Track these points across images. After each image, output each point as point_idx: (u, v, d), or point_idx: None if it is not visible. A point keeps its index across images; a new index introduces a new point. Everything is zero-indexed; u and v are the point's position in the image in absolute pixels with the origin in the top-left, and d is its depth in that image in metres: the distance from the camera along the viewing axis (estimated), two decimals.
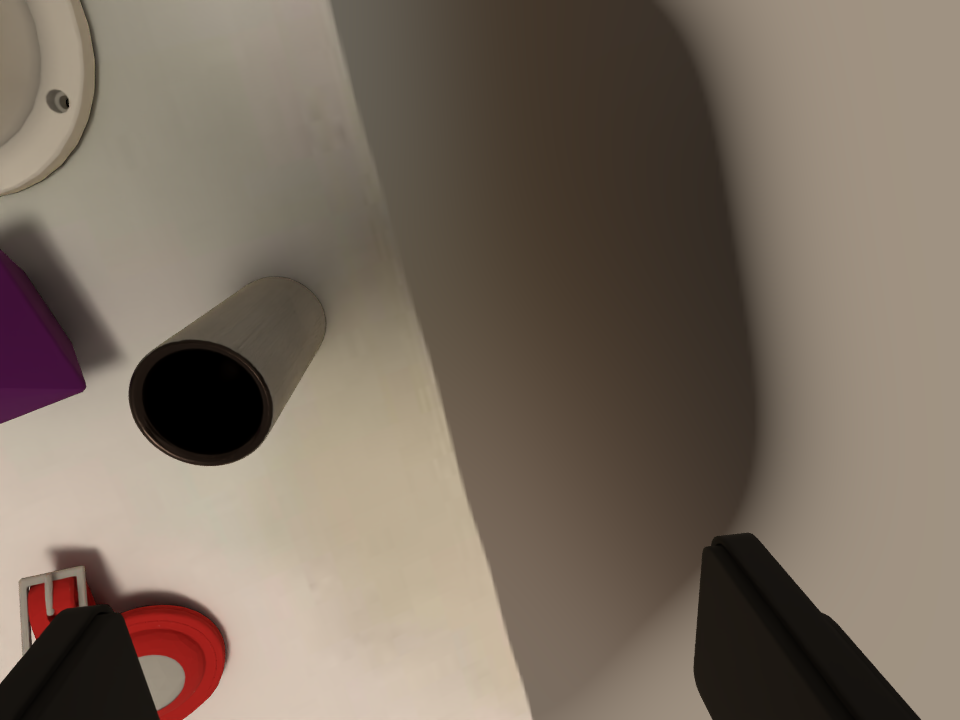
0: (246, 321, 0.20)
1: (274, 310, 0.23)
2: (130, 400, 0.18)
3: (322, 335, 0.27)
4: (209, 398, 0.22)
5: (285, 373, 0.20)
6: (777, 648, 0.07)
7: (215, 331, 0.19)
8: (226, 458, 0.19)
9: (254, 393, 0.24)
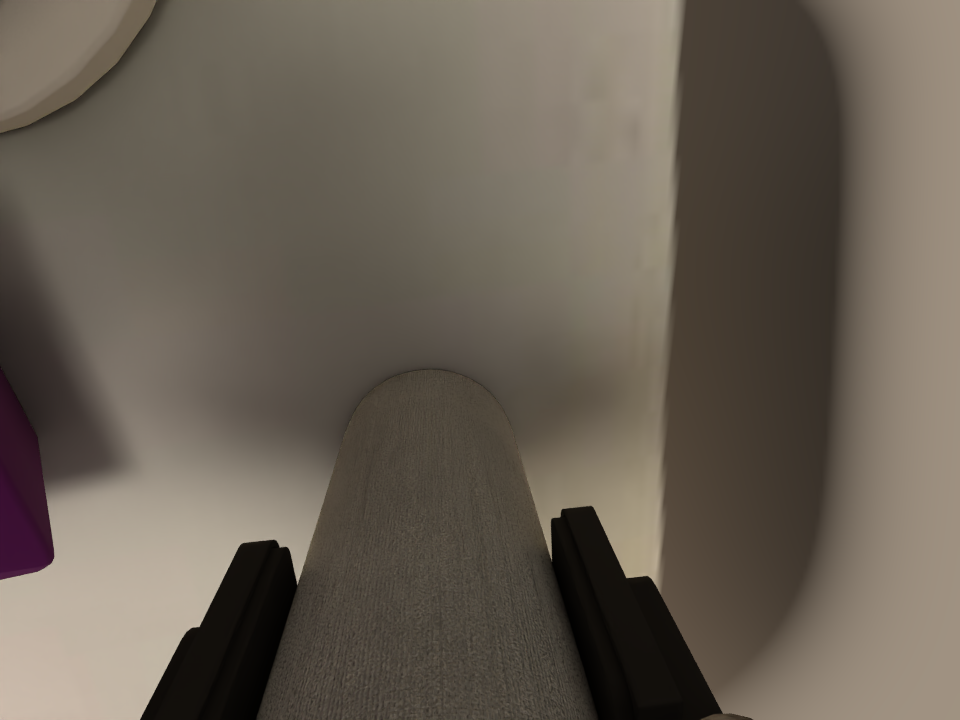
0: (514, 577, 0.08)
1: (514, 497, 0.10)
2: None
3: None
4: None
5: None
6: (579, 601, 0.08)
7: (496, 671, 0.06)
8: None
9: None
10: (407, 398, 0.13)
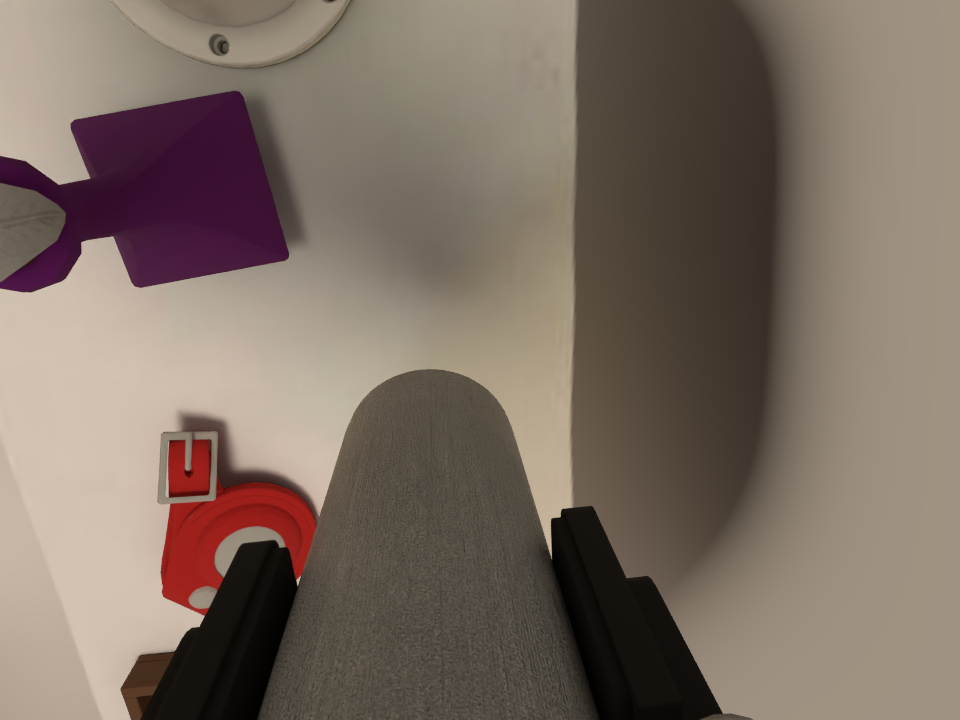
0: (514, 576, 0.08)
1: (515, 497, 0.10)
2: None
3: None
4: None
5: None
6: (580, 601, 0.08)
7: (497, 670, 0.06)
8: None
9: None
10: (408, 398, 0.13)
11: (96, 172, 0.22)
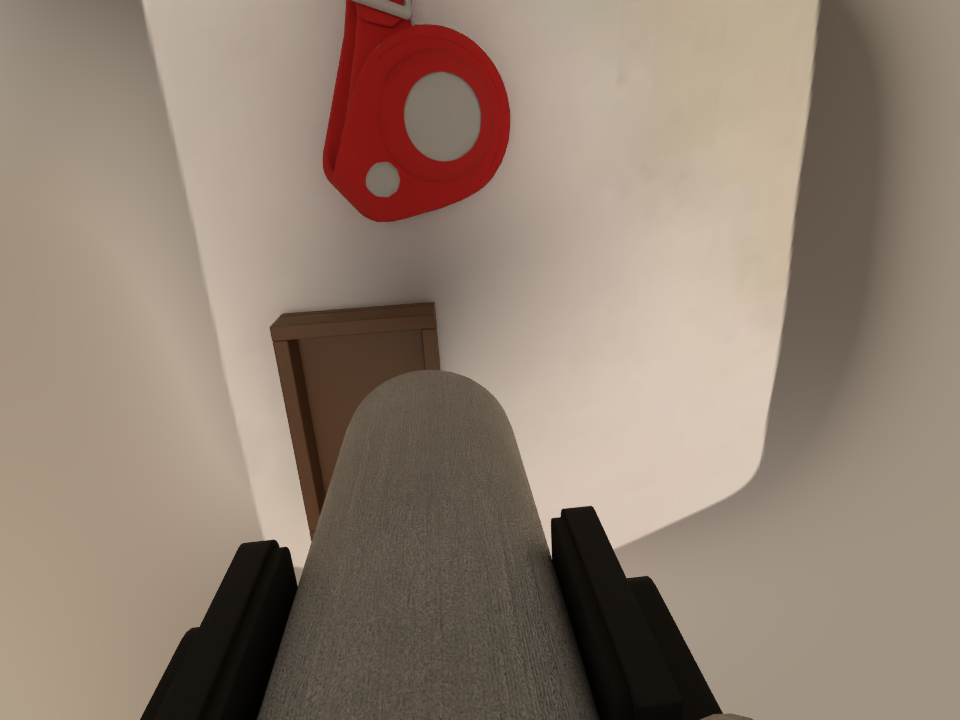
0: (515, 579, 0.08)
1: (515, 498, 0.10)
2: None
3: None
4: None
5: None
6: (580, 602, 0.08)
7: (497, 675, 0.06)
8: None
9: None
10: (408, 399, 0.13)
11: None
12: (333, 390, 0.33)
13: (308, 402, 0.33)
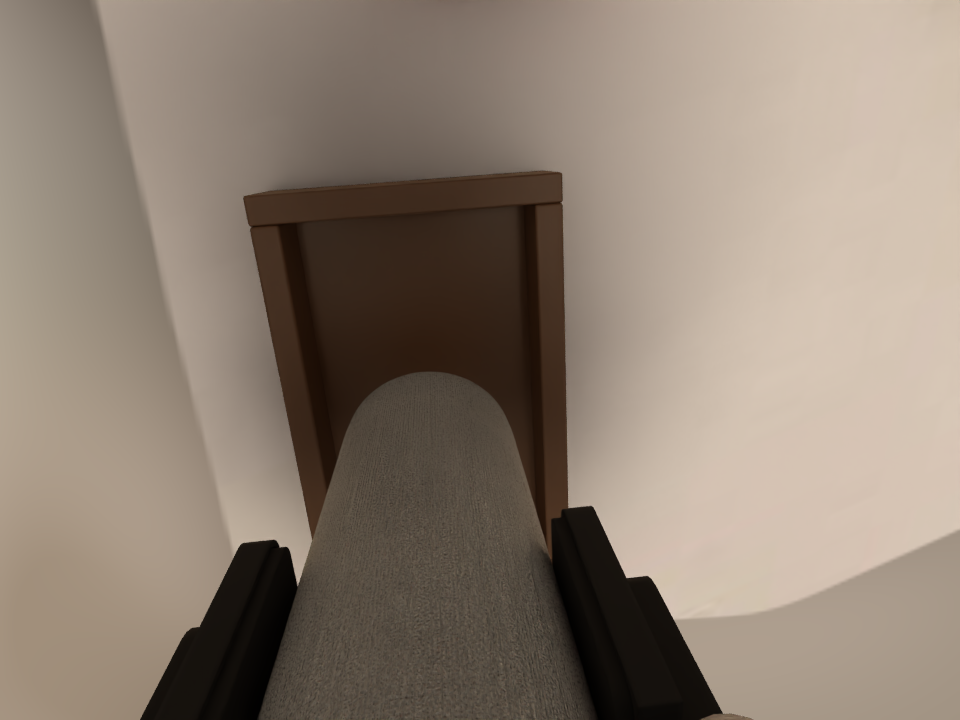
0: (514, 582, 0.08)
1: (515, 501, 0.10)
2: None
3: None
4: None
5: None
6: (580, 602, 0.08)
7: (496, 679, 0.06)
8: None
9: None
10: (407, 401, 0.13)
11: None
12: (363, 333, 0.19)
13: (318, 356, 0.19)
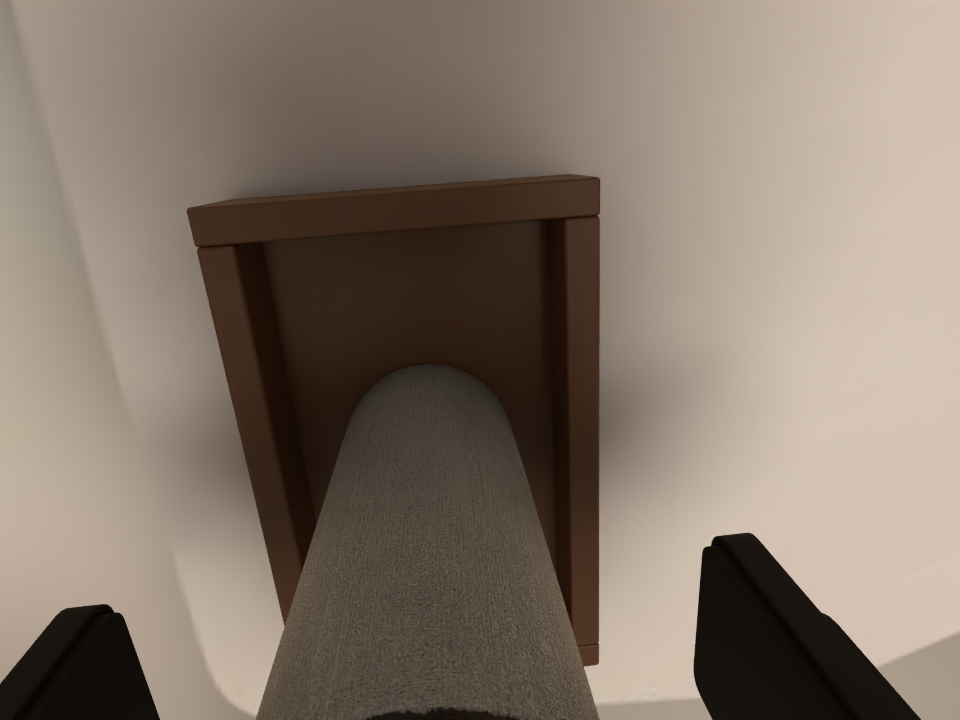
0: (510, 557, 0.08)
1: (511, 484, 0.11)
2: None
3: None
4: None
5: None
6: (777, 648, 0.07)
7: (492, 641, 0.07)
8: None
9: None
10: (408, 391, 0.13)
11: None
12: (347, 375, 0.15)
13: (291, 402, 0.15)
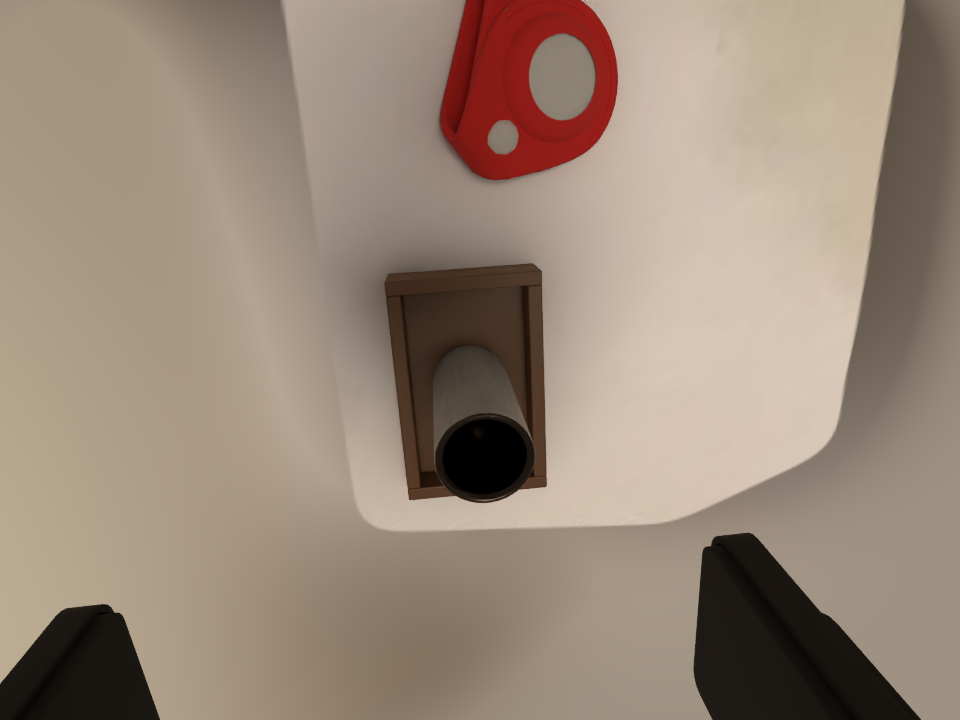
0: (506, 396, 0.27)
1: (506, 384, 0.30)
2: (438, 449, 0.25)
3: None
4: (449, 444, 0.29)
5: None
6: (777, 648, 0.07)
7: (501, 406, 0.26)
8: (489, 498, 0.26)
9: (469, 441, 0.31)
10: (464, 354, 0.33)
11: None
12: (434, 349, 0.34)
13: (409, 361, 0.34)
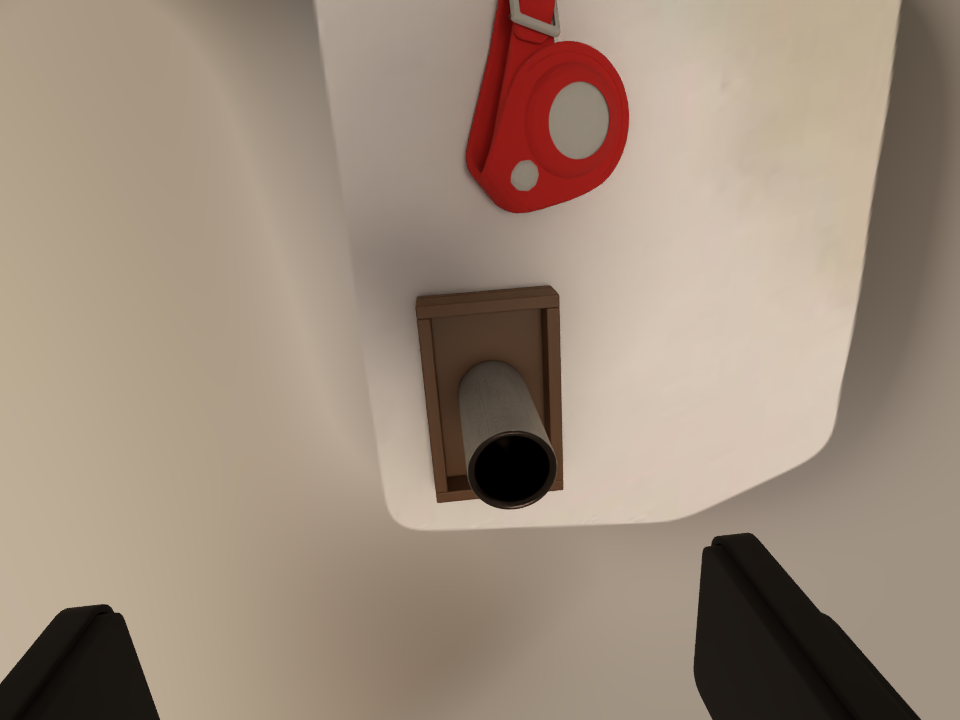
0: (529, 413, 0.30)
1: (528, 399, 0.33)
2: (471, 463, 0.28)
3: None
4: None
5: None
6: (777, 648, 0.07)
7: (526, 423, 0.29)
8: (515, 505, 0.29)
9: (494, 451, 0.34)
10: (488, 371, 0.35)
11: None
12: (459, 365, 0.37)
13: (437, 376, 0.37)
